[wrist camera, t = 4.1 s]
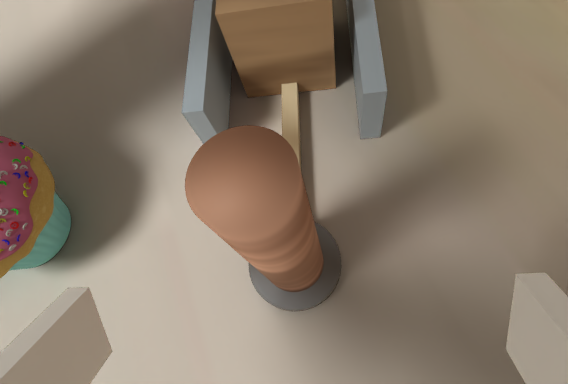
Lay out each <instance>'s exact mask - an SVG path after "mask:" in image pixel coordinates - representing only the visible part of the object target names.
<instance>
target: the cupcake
mask: <svg viewBox="0 0 568 384" xmlns="http://www.w3.org/2000/svg"><path fill="white" fill-rule="evenodd" d="M70 227H71V216H70V212H69V210H68V208H67V206H66V205H65V204H64V203H63V201H62V200H61V199H60V198H59V197H58V195H57V194H56V193H55V182H54V178H53V176H52V174H51V172H50V170H49V168H48V166H47V165H46V164H45V162H44V160H43V158H42V156H41V155H40V154H39V153H38V152H36V151H35V150H33V149H31V148H29V147H27V146H25V145H23V143H22V142H20V143H19V142H17V141H13V140H11V139H9V138H6V137H3V136H0V278H1V277H3V276H4V275H5V274H6V273H7V272H8V271H9V270H16V269H28V268H34V267H37V266H39V265H42V264H44V263H45V262H47V261H49V260H50V259H51V258H53V257H54V256H55V255H56V254H57V253H58V252H59V250H60V249H61V248H62V247H63V245H64V243H65V242H66V240H67V238H68V235H69V232H70Z"/></svg>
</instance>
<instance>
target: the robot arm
mask: <svg viewBox="0 0 568 384" xmlns="http://www.w3.org/2000/svg"><path fill="white" fill-rule="evenodd" d="M506 351H507V352H508V354H509V356H510V357H511V359H512V361H513V363H514V364H515V366H516V368H517V370H518V371H519V373H520V375H521V377H522V378H523V380H524V382H525V384H568V296H567V295H566V294H565V293H564V292H563V291H562V290H561V289H560V288H559V287H558V285H557V284H556V283H555V282H554V281H553V280H552V279H551V278H550V277H549V276H548V275H547V274H546V273H519V274H516V277H515V284H514V291H513V299H512V306H511V314H510V321H509V329H508V336H507V344H506ZM111 353H112V349H111V346H110V343H109V341H108V338H107V335H106V333H105V330H104V327H103V324H102V322H101V319H100V316H99V313H98V311H97V308H96V305H95V302H94V300H93V297H92V294H91V291H90V289H89V287H79V288H67V289H66V290H65V291H64V292H63V293H62V294H61V295H60V296H59V297H58V298H57V299H56V300H55V301H54V302H53V303H52V304H51V305H50V306H48V307H47V308H46V309H45V310H44V311H43V312H42V313H41V314H40V315H39V316H38V317H37V318H36V319H35V320H34V321H33V322H32V323H31V324H30V325H29V326H28V327H27V328H26V329H24V330H23V331H22V332H21V333H20V334H19V335H18V336H17V337H16V338H15V339H14V340H13V341H12V342H11V343H10V344H9V345H8V346H7V347H6V348H5V349H4V350H3V351H2V352H0V384H90V383H91V382H92V380H93V379H94V377H95V376H96V374H97V373H98V371H99V370H100V368H101V367H102V366H103V364H104V363H105V361H106V360H107V358H108V357H109V355H110V354H111Z"/></svg>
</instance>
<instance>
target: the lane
mask: <svg viewBox="0 0 568 384" xmlns="http://www.w3.org/2000/svg"><path fill="white" fill-rule="evenodd" d="M346 8H347V17H348V27H349V36H350V46H351V55H352V65H353V74H354V84H355V93H356V103H357V112H358V121H359V131H360V139H367V138H378V137H380V136H381V129H382V123H383V116H384V110H385V103H386V97H387V85H386V78H385V72H384V65H383V58H382V51H381V44H380V37H379V31H378V24H377V17H376V10H375V3H374V0H346ZM215 10H216V0H194V8H193V17H192V26H191V35H190V43H189V52H188V61H187V70H186V79H185V88H184V97H183V106H182V114H183V115H184V117H185V118H186V120H187V121H188V123H189V124H190V125H191V127H192V128H193V130H194V131H195V133H196V134H197V135H198V137H199V138H200V140H201V141H202V143H203V144H204V143H205V142H206V141H208V140H209V139H210V138H212V137H213V136H215V135H216V134H218V133H220V132H222V131H224V130H227V129H228V128H229V109H230V91H231V72H232V56H231V54H230V51H229V48H228V46H227V43H226V41H225V38H224V36H223V33H222V31H221V28H220V26H219V23H218V21H217V18H216V16H215Z"/></svg>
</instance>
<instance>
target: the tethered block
mask: <svg viewBox="0 0 568 384" xmlns="http://www.w3.org/2000/svg"><path fill="white" fill-rule="evenodd" d="M215 16H216V18H217V21H218V23H219V26H220V28H221V31H222V33H223V36H224V38H225V41H226V43H227V46H228V48H229V51H230V54H231V56H232V59H233V61H234V64H235V66H236V69H237V71H238V74H239V76H240V79H241V81H242V84H243V86H244V89H245V91H246V94H247V96H248V98H250V97H259V96H268V95H278V94H282V136H281V135H279V134H278V133H276V132H274V131H272V130H270V129H267V128H264V127H260V126H251V125H247V126H238V127H233V128H230V129H227V130H224V131H222V132H220V133H218V134H216V135H215V136H213V137H212V138H210V139H209V140H208V141H206V142H205V143H204V144H203V145H202V146H201V147H200V148H199V150H198V151H197V152H196V153H195V155H194V157H193V158H192V160H191V162H190V164H189V167H188V170H187V173H186V179H185V191H186V197H187V200H188V203H189V205H190V207H191V209H192V210H193V212H194V213H195V215H196V216H197V217H198V218H199V219H200V220H201V221H202V222H204V223H205V224H206V225H207V226H208V227H209V228H210V229H212V230H213V231H214V232H215V233H216V234H217V235H218V236H220V237H221V238H222V239H223V240H224V241H225V242H226V243H227V244H229V245H230V246H231V247H232V248H233V249H234V250H235V251H237V252H238V253H239V254H240V255H241V256H242V257H243V258H245V259H246V260H247V261H248V262H249V272H250V277H251V280H252V283H253V285H254V287H255V289H256V290H257V292H258V293H259V294H260V295H261V297H263V298H264V299H265V300H266V301H267V302H269V303H270V304H272V305H274V306H276V307H278V308H280V309H283V310H288V311H303V310H307V309H310V308H313V307H315V306H317V305H319V304H320V303H322V302H323V301H324V300H326V299H327V298H328V297H329V296H330V294H331V293H332V292H333V290H334V288H335V287H336V285H337V282H338V280H339V276H340V271H341V259H340V253H339V249H338V246H337V244H336V242H335V240H334V238H333V237H332V236H331V234H330V233H329V232H328V231H327V230H326V229H325V228H324V227H322V226H321V225H319V224H318V223H316V222H314V220H313V216H312V212H311V208H310V204H309V201H308V197H307V193H306V189H305V185H304V182H303V178H302V174H301V148H300V118H299V92H305V91H314V90H324V89H333V88H336V77H335V54H334V31H333V9H332V0H216V10H215Z"/></svg>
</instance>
